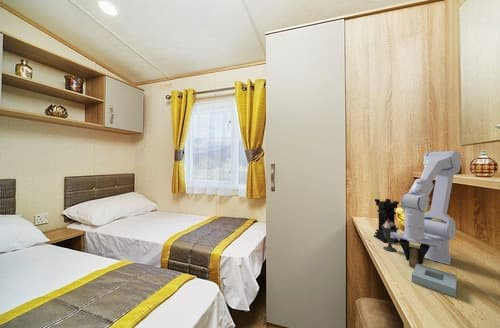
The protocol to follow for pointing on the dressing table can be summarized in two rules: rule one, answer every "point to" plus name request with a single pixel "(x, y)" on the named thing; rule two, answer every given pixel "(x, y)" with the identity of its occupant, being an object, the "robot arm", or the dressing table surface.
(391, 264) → the dressing table surface
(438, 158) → the robot arm
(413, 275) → the socket block
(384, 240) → the chess piece
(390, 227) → the sundae
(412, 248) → the peg
